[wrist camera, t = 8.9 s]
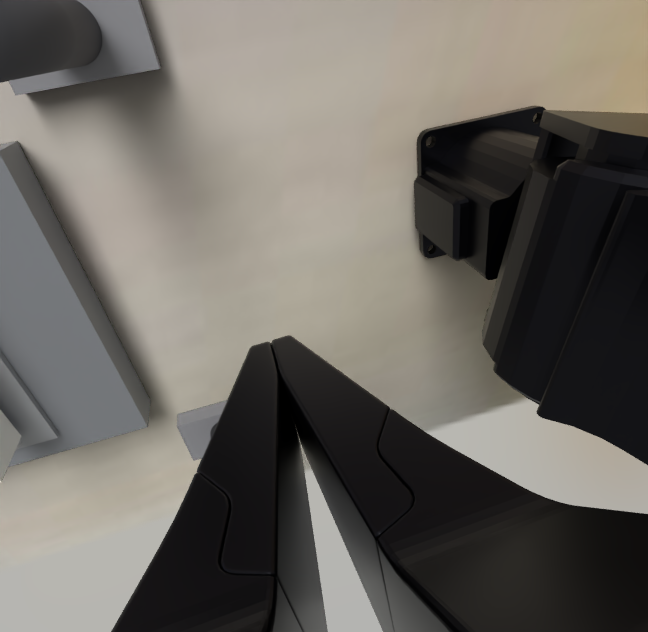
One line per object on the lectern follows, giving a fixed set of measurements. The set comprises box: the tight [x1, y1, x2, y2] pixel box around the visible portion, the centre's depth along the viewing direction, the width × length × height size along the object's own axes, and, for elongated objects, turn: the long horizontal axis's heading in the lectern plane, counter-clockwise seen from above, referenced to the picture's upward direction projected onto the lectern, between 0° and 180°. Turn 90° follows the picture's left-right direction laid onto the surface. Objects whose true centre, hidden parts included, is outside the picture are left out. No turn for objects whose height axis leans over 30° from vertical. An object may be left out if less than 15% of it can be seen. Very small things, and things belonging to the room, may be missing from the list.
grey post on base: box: [0, 0, 161, 95], centre depth 12 cm, size 5×3×10 cm, turn 100°
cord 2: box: [177, 400, 227, 460], centre depth 23 cm, size 5×3×10 cm, turn 100°
